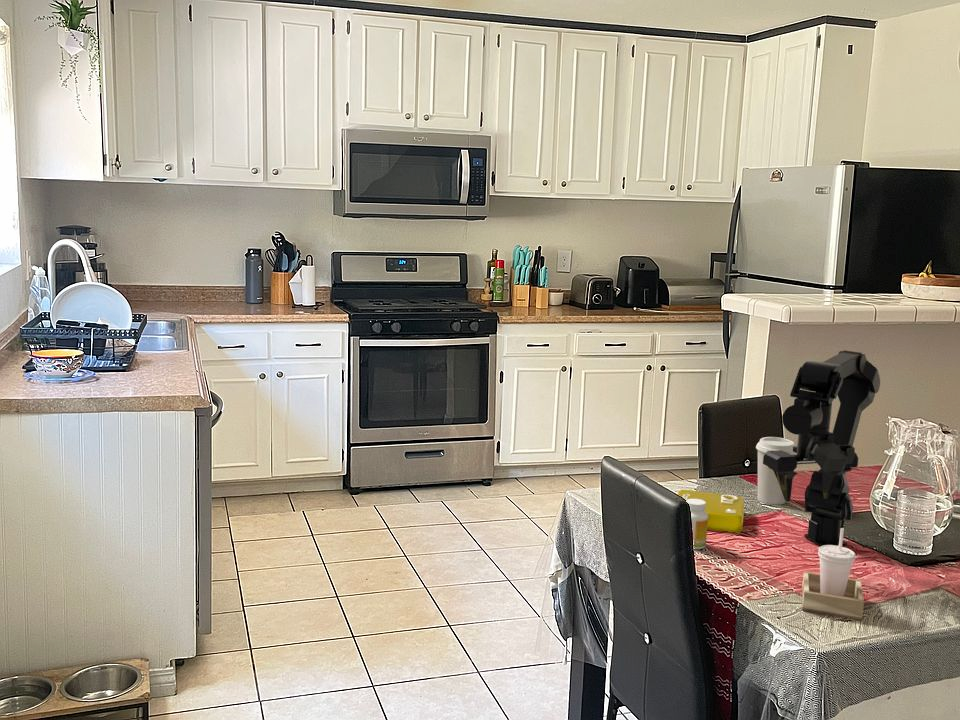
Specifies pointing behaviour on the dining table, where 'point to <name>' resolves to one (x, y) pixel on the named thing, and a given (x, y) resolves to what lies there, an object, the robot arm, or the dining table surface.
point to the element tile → (720, 509)
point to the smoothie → (835, 567)
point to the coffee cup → (766, 477)
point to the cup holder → (832, 598)
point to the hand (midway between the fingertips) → (806, 499)
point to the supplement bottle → (698, 522)
